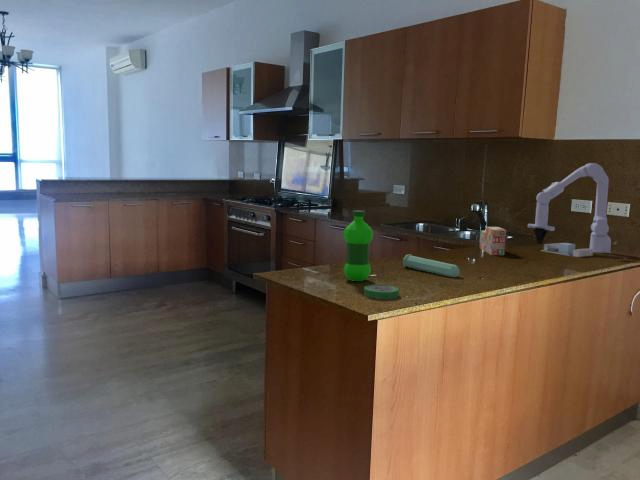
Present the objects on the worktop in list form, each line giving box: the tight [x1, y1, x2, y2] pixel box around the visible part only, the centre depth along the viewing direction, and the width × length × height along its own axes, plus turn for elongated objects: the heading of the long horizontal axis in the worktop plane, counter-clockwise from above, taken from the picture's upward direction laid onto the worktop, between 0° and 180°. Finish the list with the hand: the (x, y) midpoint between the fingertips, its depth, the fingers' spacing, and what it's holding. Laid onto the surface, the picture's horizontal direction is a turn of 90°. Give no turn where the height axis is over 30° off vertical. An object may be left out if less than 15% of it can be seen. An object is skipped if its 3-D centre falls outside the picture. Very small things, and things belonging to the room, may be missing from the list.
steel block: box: [558, 242, 576, 254], centre depth 261 cm, size 5×5×4 cm
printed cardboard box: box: [479, 226, 507, 256], centre depth 267 cm, size 21×6×12 cm, turn 179°
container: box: [402, 254, 460, 278], centre depth 215 cm, size 6×6×25 cm
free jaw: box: [542, 242, 560, 251], centre depth 268 cm, size 10×3×3 cm, turn 119°
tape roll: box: [363, 284, 400, 300], centre depth 176 cm, size 11×11×3 cm
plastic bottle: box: [342, 210, 374, 281], centre depth 196 cm, size 10×10×25 cm
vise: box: [540, 247, 594, 258], centre depth 261 cm, size 12×20×4 cm, turn 29°
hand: (539, 243), depth 274 cm, fingers closed
